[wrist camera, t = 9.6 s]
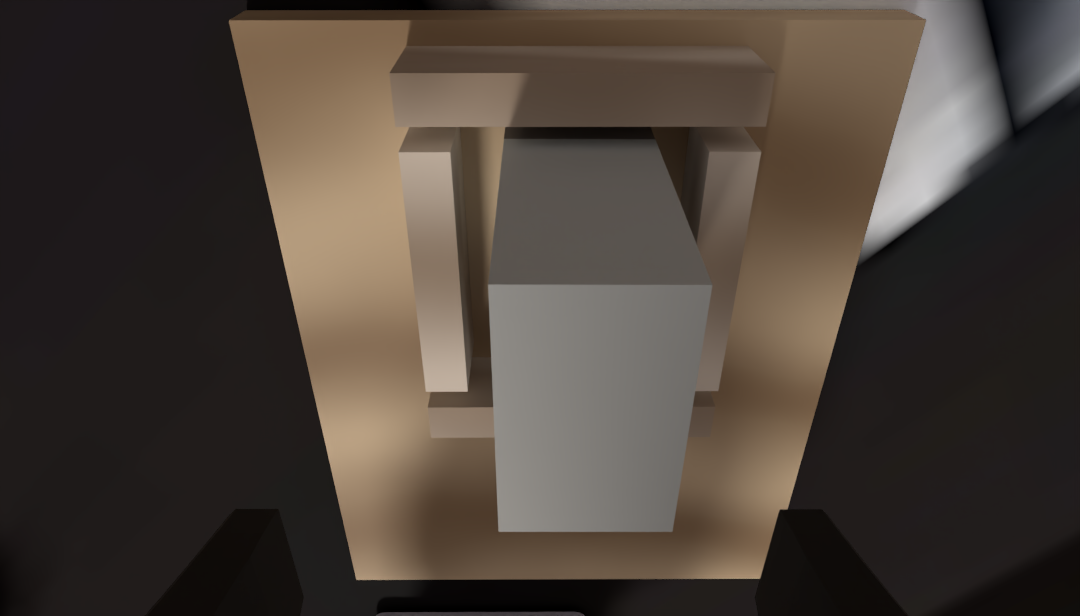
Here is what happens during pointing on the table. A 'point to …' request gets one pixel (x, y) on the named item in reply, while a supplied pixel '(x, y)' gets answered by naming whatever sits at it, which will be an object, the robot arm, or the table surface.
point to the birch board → (467, 236)
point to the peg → (591, 331)
